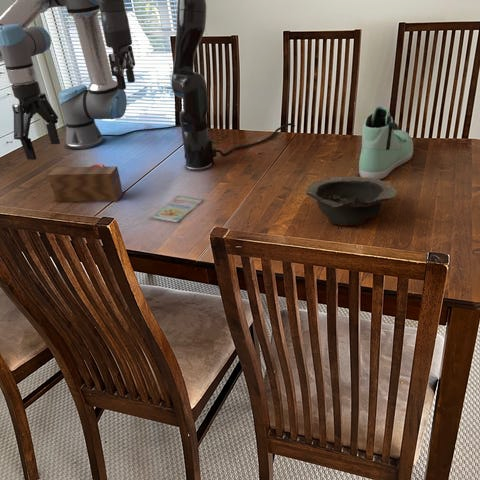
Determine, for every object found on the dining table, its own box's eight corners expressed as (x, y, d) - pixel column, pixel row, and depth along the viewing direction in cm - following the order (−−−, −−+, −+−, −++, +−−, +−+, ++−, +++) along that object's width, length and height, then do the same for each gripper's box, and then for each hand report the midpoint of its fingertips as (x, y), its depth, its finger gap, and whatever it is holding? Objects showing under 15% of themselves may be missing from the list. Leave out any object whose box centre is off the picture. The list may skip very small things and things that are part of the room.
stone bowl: (342, 242, 123) (342, 209, 118) (290, 211, 143) (288, 182, 139) (415, 214, 131) (417, 183, 127) (356, 189, 152) (356, 161, 147)
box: (55, 201, 157) (47, 174, 152) (63, 193, 162) (56, 167, 157) (117, 201, 154) (110, 173, 149) (123, 193, 159) (117, 166, 154)
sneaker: (418, 146, 175) (426, 90, 164) (396, 184, 150) (403, 120, 139) (381, 142, 181) (385, 87, 170) (353, 178, 156) (357, 116, 145)
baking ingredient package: (151, 216, 142) (178, 195, 153) (151, 217, 142) (178, 197, 153) (176, 221, 138) (202, 199, 149) (176, 222, 138) (202, 201, 150)
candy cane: (65, 180, 171) (64, 177, 170) (98, 165, 181) (97, 162, 180) (76, 184, 168) (75, 180, 167) (108, 168, 178) (107, 164, 177)
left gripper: (9, 93, 129) (32, 166, 140) (58, 72, 150) (74, 137, 161) (-15, 93, 131) (9, 166, 142) (36, 73, 152) (54, 137, 163)
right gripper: (120, 31, 131) (131, 91, 140) (136, 24, 143) (145, 79, 152) (94, 33, 132) (107, 92, 141) (112, 25, 144) (123, 80, 153)
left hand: (44, 151), depth 151 cm, fingers open, 13 cm apart
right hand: (127, 85), depth 146 cm, fingers open, 8 cm apart
